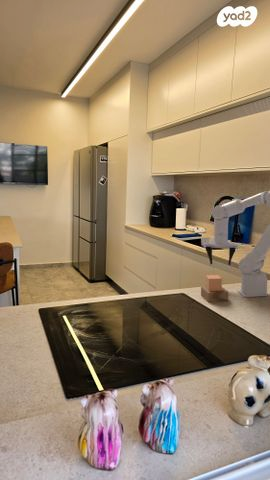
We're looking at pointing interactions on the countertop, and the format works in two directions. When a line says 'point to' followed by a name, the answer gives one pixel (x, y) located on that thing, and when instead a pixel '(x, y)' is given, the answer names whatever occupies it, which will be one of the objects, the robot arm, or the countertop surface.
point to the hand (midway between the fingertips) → (220, 264)
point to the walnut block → (214, 295)
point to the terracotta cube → (213, 283)
